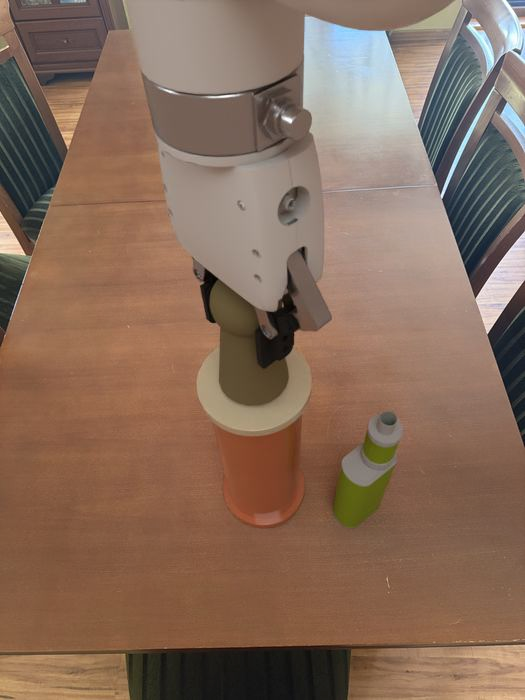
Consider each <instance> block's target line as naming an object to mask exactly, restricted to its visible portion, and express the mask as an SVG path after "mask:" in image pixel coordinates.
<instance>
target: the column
mask: <svg viewBox="0 0 525 700" xmlns="http://www.w3.org/2000/svg"><path fill="white" fill-rule="evenodd" d="M219 355H220V345H219V346H217V347H216V348H214V349H213V350H212V351H211V352H210V353H209V354H208V355H207V356H206V357H205V358H204V360H203V362H202V363H201V365H200V367H199V370H198V373H197V377H196V393H197V397H198V398H197V399H198V402H199V405H200V407H201V409H202V410H203V413H204V414H205V416H206V417H207V418H208V419H209V420H210V421H211V422H212V425H213V430H214V433H215V434H214V435H215V438H216V442H217V443H216V444H217V447H218V451H219V455H220V460H221V462H222V468H223V472H224V476H223V482H222V491H223V493H222V494H223V497H224V500H225V504H226V506H227V508H228V510H229V511H230V513H231V514H232V515H233V516H234V517H235V519H237V520H238V521H239V522H241V523H243V524H244V525H247V526H249V527H252V528H256V529H270V528H276V527H278V526H281V525H283V524H285V523H287V522H288V521H289V520H291V519H292V518H293V517H294V516H295V515H296V514H297V512H298V511H299V510H300V508H301V506H302V503H303V501H304V497H305V489H306V485H305V483H306V482H305V477H304V472H303V471H302V468H301V453H302V452H301V450H302V446H301V445H302V425H303V413H304V411H306V408H307V407H308V404H309V402H310V399H311V396H312V395H311V394H312V387H313V386H312V385H313V381H312V380H313V378H312V371H311V368H310V366H309V364H308V362H307V360H306V358H305V357H304V355H303V354H302V353H301V352H300V351H299V350H298V349H297V348H295V346H293V349H292V351H291V352H290V354H289V355H288V356H286V357H285V358H286V362H287V366H288V373H289V379H288V383H287V386H286V388H285V389H284V391H283V392H282V393H281V395H280V396H278V397H277V398H275V399H274V400H272V401H271V402H268V403H265V404H262V405H252V406H248V405H244V404H239V403H237V402H235V401H233V400H231V399H230V398H228V397H227V396H226V394H225V393H224V392H223V391H222V389H221V386H220V384H219Z"/></svg>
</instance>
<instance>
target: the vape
mask: <svg viewBox="0 0 525 700" xmlns="http://www.w3.org/2000/svg"><path fill="white" fill-rule="evenodd" d="M403 434H404V426H403V423H402V422H401V421H400V419H399V418H398V415H397V414H396V413H395V412H394V411H392V410H383V411H382V412H381V413H376V414H374V415H372V416H371V418H370V419H369V421H368V423H367V427H366V432H365V436H364V440H363V442H362V443H361V444H359V445H358V446H357V447H355V448H354V449H352V451H350V452H349V453H347V454H346V455H345V456H343V458H342V460H341V464H340V469H339V474H338V480H337V485H336V488H335V489H336V490H335V494H334V499H333V505H332V514H333V516H334V518H335V519H336V521H337V522H338V523H339V524H340V525H341V526H343V527H345V528H347V529H356V528H357V527H358V526H360V525H361V524H362V523H363V522H364V521H366V520H367V519H368V518H369V517H370V516H372V515H373V514H374V513H375V512H376V511H377V510H378V509H379V507H380V504H381V503H382V500H383V497H384V494H385V492H386V489H387V487H388V484H389V482H390V479H391V477H392V475H393V472H394V469H395V467H396V465H397V462H398V456H397V452H396V451H397V448H398V446H399V444H400V441H401V439H402V437H403Z"/></svg>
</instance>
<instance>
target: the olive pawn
mask: <svg viewBox="0 0 525 700" xmlns="http://www.w3.org/2000/svg"><path fill="white" fill-rule="evenodd" d="M282 307H283V302H282V299H280V300H278V309H280V308H282ZM278 309H277V310H278ZM210 310H211V313H212V315H213V318H214V320H215V321H216V323H215V324H217V325H218V327H219V346H220V355H219V384H220V386H221V389H222V391H223V392H224V393H225V394H226V396H227V397H228V398H230V399H231V400H233V401H235V402H237V403H239V404H244V405H248V406H252V405H262V404H265V403H268V402H271V401H272V400H274V399H275V398H277V397H278V396H280V395H281V393H282V392H283V391H284V389H285V388H286V386H287V383H288V379H289V373H288V366H287V362H286V358H284V359H282V360H280V361H278V360H276V361H275V362H273V363H272V364H271V365H269V366H268V367H267V368H265V369H263V368H262V367H261V366H259V365H258V361H257V353H256V341H255V331H256V329H257V328H259V327H260V324H259V321H258V318H257V315H256V312H255V309H254V306H253V305H252V304H251V303H249V302H248V301H247V300H245V299H244V298H243V297H241V296H240V295H239V294H237V293H236V292H235V291H234V290H232V289H231V288H230V287H229V286H227V285H226V284H225V283H224V282H222V281H221V280H220V279H218V280H217V281H216V283H215V284H214V286H213V288H212V290H211V293H210ZM277 310H276V311H277ZM276 311H275V312H276ZM273 313H274V312H273Z"/></svg>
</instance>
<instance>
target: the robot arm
mask: <svg viewBox="0 0 525 700" xmlns="http://www.w3.org/2000/svg"><path fill="white" fill-rule="evenodd" d="M455 1H456V0H124V2H125V7H126V11H127V15H128V16H127V17H128V20H129V24H130V25H129V26H130V28H131V34H132V37H133V42H134V47H135V51H136V57H137V60H138V65H139V68H140V75H141V80H142V85H143V88H144V92H145V97H146V102H147V105H148V110H149V115H150V120H151V125H152V128H153V132H154V133H153V134H154V138H155V141H156V143H157V151H158V160H159V166H160V172H161V180H162V185H163V191H164V197H165V202H166V206H167V212H168V217H169V219H170V223H171V226H172V230H173V234H174V236H175V239H176V241H177V242H178V245H180V246H181V248H182V249H183V250H184V251H185V252H186V253H187V254H188V255H189V256H190V257H191V259H192V272H193V275H194V277H195V279H196V280H197V281H198V282H200V283H201V284H200V285H199V289H200V295H201V299H202V303H203V304H202V305H203V309H204V314H205V319H206V320H207V321H208V322H209V323H210V324H217V323H216V321H215V320H214V318H213V315H212V313H211V310H210V293H211V290H212V288H213V286H214V284H215V283H216V281H217V280H218V279H220V280H221V281H222V282H224V283H225V284H226V285H227V286H229V287H230V288H231V289H232V290H234V291H235V292H236V293H237V294H239V295H240V296H241V297H243V298H244V299H245V300H247V301H248V302H249V303H251V304H252V305H253V306H254V309H255V312H256V315H257V318H258V321H259V324H260V327H259V328H257V329H256V331H255V341H256V353H257V361H258V365H259V366H261V367H262V368H263V369H265V368H267V367H268V366H269V365H271V364H272V363H273V362H275V361H276V360H278V361H280V360H282V359H284V358H285V357H286V356H288V355H289V354H290V352H291V351H292V349H293V347H295V333H296V332H297V331H301V332H312V333H313V332H315V333H316V332H318V331H319V330H320V329H322V328H323V327H325V326H326V325H327V324H329V323H330V322H331V321H332V320H333V315H332V313H331V311H330V309H329V307H328V305H327V302H326V301H325V298H324V296H323V295H322V292H321V290H320V289H319V286H318V285H317V283H318V282H320V280H321V279H322V277H323V273H324V267H325V265H324V264H325V210H324V208H325V207H324V193H323V184H322V175H321V169H320V162H319V156H318V152H317V146H316V142H315V137H314V135H313V133H312V132H310V129H311V127H312V124H313V117H312V112H310V110H308V109H306V108H304V88H305V87H304V86H305V84H304V81H305V27H306V25H305V23H306V21H305V20H306V19H305V18H306V15H307V16H309V17H312V18H315V19H317V20H320V21H323V22H326V23H329V24H332V25H336V26H339V27H343V28H347V29H351V30H357V31H365V32H367V31H368V32H386V31H393V30H398V29H402V28H407V27H410V26H414V25H417V24H419V23H421V22H423V21H425V20H427V19H429V18H431V17H433V16H434V15H436V14H438V13H440V12H441V11H443V10H445V9H446V8H447V7H449V6H450V5H451V4H453V3H454V2H455ZM280 299H282V302H283V303H282V308H280V309H278V300H280ZM277 309H278V310H277ZM276 310H277V311H276ZM275 311H276V312H275ZM273 312H274V313H273Z"/></svg>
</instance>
